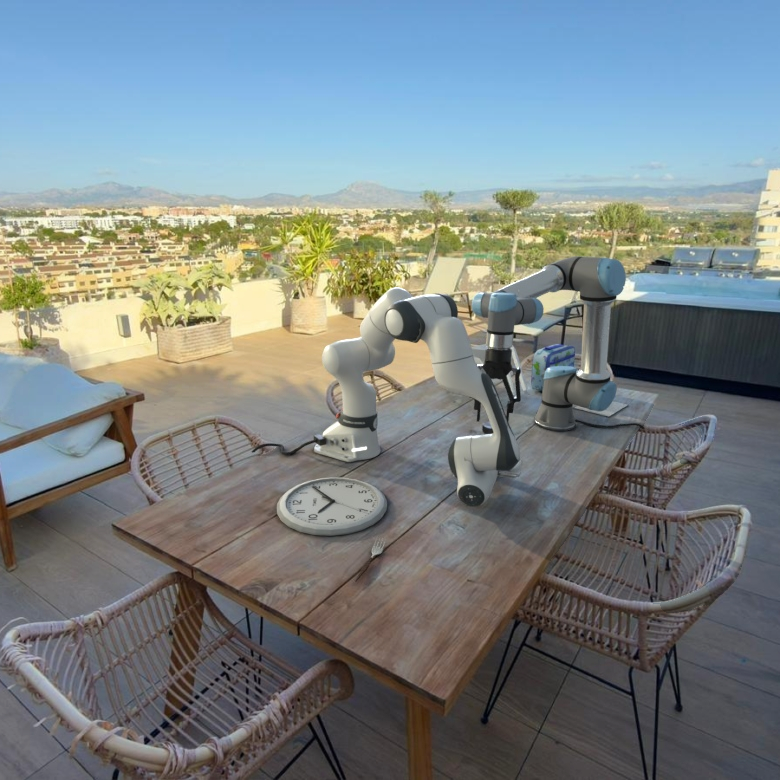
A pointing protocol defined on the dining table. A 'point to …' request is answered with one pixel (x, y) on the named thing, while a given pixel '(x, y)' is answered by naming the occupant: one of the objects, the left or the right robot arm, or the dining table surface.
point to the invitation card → (609, 411)
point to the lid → (487, 428)
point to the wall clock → (331, 506)
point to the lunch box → (550, 362)
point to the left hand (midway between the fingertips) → (490, 452)
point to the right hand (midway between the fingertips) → (492, 421)
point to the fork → (375, 551)
